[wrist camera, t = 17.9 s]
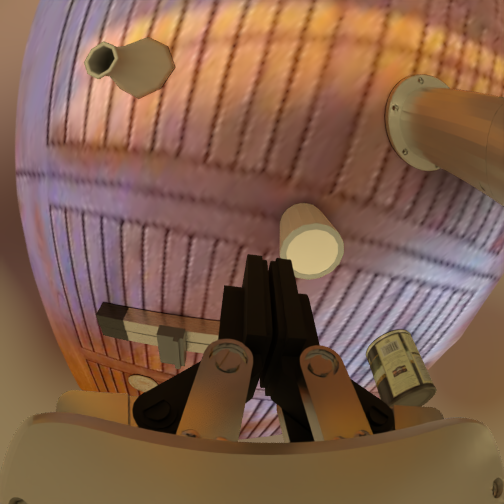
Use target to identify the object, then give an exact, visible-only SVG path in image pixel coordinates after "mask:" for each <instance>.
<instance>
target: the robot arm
mask: <svg viewBox="0 0 504 504" xmlns="http://www.w3.org/2000/svg"><path fill="white" fill-rule="evenodd" d="M392 107H393V109H392ZM385 122H386V129H387V134H388V137H389V140H390V142H391V145H392V146H393V148H394V150H395V151H396V153H397V154H398V155H399V156H400V157H401V159H402V160H404V161H405V162H406V163H408V164H409V165H411V166H413V167H414V168H417V169H420V170H423V171H434V170H438V169H441V168H442V169H444V170H446V171H447V172H449V173H451V174H453V175H454V176H456V177H458V178H460V179H461V180H463V181H465V182H466V183H468V184H470V185H471V186H473V187H475V188H476V189H478V190H479V191H481V192H482V193H484V194H486V195H487V196H489V197H490V198H492V199H493V200H495V201H496V202H497V203H499V204H500V205H502V206H503V207H504V97H500V96H495V95H489V94H484V93H478V92H471V91H464V90H457V89H450V88H449V87H448V86H447V85H446V84H445V83H444V82H442V81H441V80H439V79H437V78H435V77H433V76H429V75H412V76H409V77H406V78H404V79H403V80H401V81H400V82H399V83H398V84H397V85H396V86H395V87H394V89H393V90H392V92H391V94H390V96H389V98H388V101H387V105H386V113H385ZM402 151H403V152H402ZM259 378H260V387H261V388H265V396H271V400H272V401H274V402H275V403H276V404H277V413H278V417H279V422H280V426H281V430H282V434H283V438H284V443H251V442H250V443H249V442H238V438H239V433H240V428H241V423H242V418H243V413H244V408H245V403H247V402H248V401H249V400H251V399H252V398H253V395H254V392H255V389H256V387H257V384H258V381H259ZM0 504H504V467H503V464H502V460H501V456H500V453H499V450H498V447H497V445H496V442H495V440H494V437H493V435H492V434H491V431H490V430H489V428H488V427H487V426H486V425H485V424H484V423H482V422H480V421H478V420H474V419H469V418H461V417H457V418H447V419H444V418H443V415H442V414H441V412H440V411H439V410H437V409H436V408H433V407H418V406H402V405H393V406H392V407H389V406H388V405H387V404H386V403H385V402H383V401H382V400H380V399H379V398H377V397H376V396H374V395H373V394H372V393H370V392H369V391H367V390H366V389H364V388H363V387H361V386H360V385H358V384H357V383H356V382H354V381H353V380H351V379H350V377H349V375H348V372H347V370H346V368H345V365H344V363H343V361H342V359H341V358H340V356H339V355H338V354H337V353H336V352H335V351H334V350H332V349H330V348H328V347H325V346H320V345H319V341H318V336H317V332H316V327H315V323H314V318H313V314H312V310H311V306H310V301H309V298H308V295H307V294H298V290H297V285H296V280H295V275H294V271H293V266H292V261H291V260H290V259H282V258H276V261H271V262H270V266H269V270H268V265H267V260H262V256H258V255H250V254H248V255H247V261H246V267H245V273H244V279H243V285H242V287H233V286H225V285H224V293H223V301H222V309H221V318H220V326H219V335H218V340H217V341H214V342H212V343H211V344H210V345H208V346H207V348H206V350H205V351H204V354H203V357H202V360H201V361H200V362H199V363H197V364H195V365H193V366H192V367H190V368H188V369H186V370H185V371H183V372H181V373H179V374H178V375H176V376H174V377H172V378H170V379H169V380H167V381H165V382H163V383H161V384H159V385H158V386H156V387H154V388H152V389H150V390H148V391H146V392H144V393H143V394H141V395H140V396H129V395H128V394H126V393H105V392H91V391H80V390H69V391H67V392H65V393H63V394H62V395H61V396H60V397H59V399H58V402H57V406H56V412H48V413H41V414H35V415H32V416H30V417H28V418H27V419H25V420H24V421H23V422H22V423H21V424H20V426H19V427H18V428H17V430H16V432H15V434H14V436H13V438H12V440H11V442H10V444H9V446H8V449H7V452H6V454H5V457H4V460H3V464H2V467H1V471H0Z"/></svg>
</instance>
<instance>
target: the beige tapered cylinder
mask: <svg viewBox="0 0 504 504" xmlns="http://www.w3.org/2000/svg"><path fill="white" fill-rule="evenodd" d="M343 254H344V242H343V240H342V238H341V236H340V235H339V233H338V231H337V230H336V229H335V228H334V226H333V225H332V224H331V223H330V222H329V220H328V219H327V218H326V217H325V216H324V214H323V213H322V212H321V211H320V210H319V209H318V208H317V207H315V206H314V205H312V204H308V203H299V204H295V205H293V206H291V207H289V208H288V209H287V210H286V211H285V212H284V214H283V215H282V217H281V221H280V257H281V258H282V259H290V260H291V261H292V266H293V271H294V275H295V277H297V278H302V279H308V280H309V279H315V278H321V277H322V276H324V275H326V274H328V273H330V272H332V271H333V270H334V269H335V267H336V266H337V265H338V264H339V263H340V261H341V258H342V256H343Z"/></svg>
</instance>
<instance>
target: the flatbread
mask: <svg viewBox="0 0 504 504" xmlns="http://www.w3.org/2000/svg"><path fill="white" fill-rule="evenodd" d="M129 383H130V384H131V385H132V386H133V387H134V388H135V389H138V390H141V391H143V392H146V391H148V390H150V389H152V388H154V387H156V386H158V384H157V383H156V382H155V381H154V380H152V379H151V378H148V377H145V376H141V375H132V376H130V377H129Z"/></svg>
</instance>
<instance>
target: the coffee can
mask: <svg viewBox="0 0 504 504" xmlns="http://www.w3.org/2000/svg"><path fill="white" fill-rule="evenodd" d="M366 357H367V359H368V362H369V365H370V368H371V370H372V373H373V376H374V380H375V383H376V386H377V389H378V392H379V396H380V399H381V400H382V401H383V402H385V403H386V404H387V405H388V406H389V407H392V406H393V405H402V406H418V407H421V406H422V405H424V404H425V403H427V402H428V401H429V400H430V399H431V398H432V397H433V396H434V395H435V393H436V388H435V386H434V385H433V382H432V380H431V378H430V376H429V373H428V371H427V369H426V367H425V365H424V362H423V360H422V358H421V356H420V354H419V352H418V350H417V347H416V345H415V343H414V341H413V339H412V337H411V334H410V333H409V332H408V331H406V330H394V331H391V332H388V333H386V334H384V335H382V336H380V337H379V338H377V339H376V340H375V341H374V342H373V343H372V344H371V345H370V346H369V348H368V349H367V352H366Z"/></svg>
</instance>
